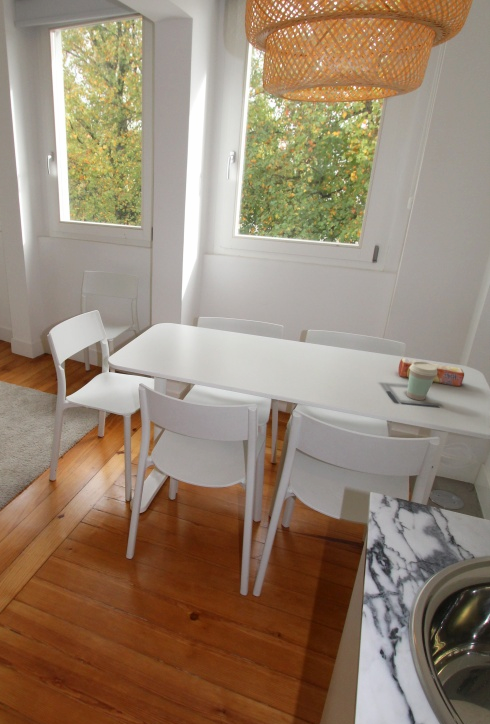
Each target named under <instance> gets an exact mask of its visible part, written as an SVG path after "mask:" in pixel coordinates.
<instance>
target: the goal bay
mask: <svg viewBox="0 0 490 724" xmlns="http://www.w3.org/2000/svg"><path fill="white" fill-rule="evenodd" d="M386 394H387V395H388V397H389V398H390V399H391V401H392V402H393V403H394V404H401V405H407V406H417V407H427V408H437V409H441V408H440V406H439V405H438V404H437V405H436V404H427V403H425V404H424V403H413V402H400V403H399V401H398V399H396V397H395V396H394V394H393V393H392V391H391V390H390V391H388V390H387V391H386Z"/></svg>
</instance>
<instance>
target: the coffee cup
mask: <svg viewBox="0 0 490 724" xmlns="http://www.w3.org/2000/svg"><path fill="white" fill-rule="evenodd" d="M415 361H416V362H413V363H412V365H411V366H410V374H409V378H408V382H407V389H406V396H407V397H408V398H410V399H412V400H415V401H424V400H425V399H426V397H427V395H428V393H429V391H430V389H431V387H432V384H433V383H434V382H433V380H434V378H435V376H436V375H437V372H438V371H437V367H436V366H435V365H433V364H434V363H432V364H431V362H426V361H419V360H415Z"/></svg>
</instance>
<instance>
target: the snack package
mask: <svg viewBox="0 0 490 724" xmlns="http://www.w3.org/2000/svg"><path fill="white" fill-rule="evenodd" d="M416 361H417V360H414V359H409V358H404V357H403V358H401V359H400V361H399V364H398V376H399V377H401V378H407V379H409V374H410V366H411V365H412V363H413V362H416ZM430 363H431V362H430ZM431 364H433V365H435V366H436V367H437V371H438V372H437V375H436V376H435V378H434V380H433V382H432V383H437V384H443V385H447V386H453V387H461V386H462V384H463V382H464V378H465V372H464V370H463V369H462V368H461V367H455V366H449V365H443V364H436V363H431Z"/></svg>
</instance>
